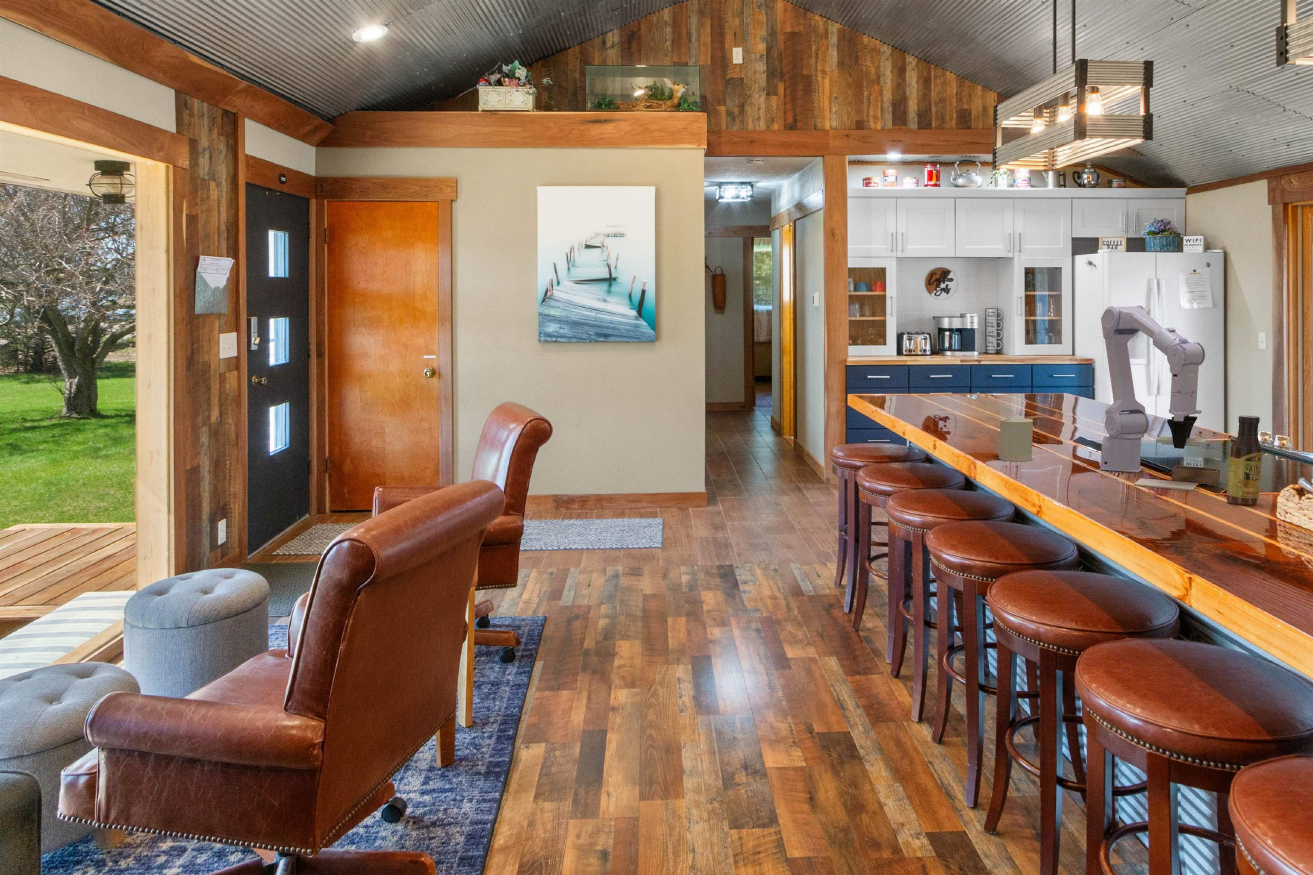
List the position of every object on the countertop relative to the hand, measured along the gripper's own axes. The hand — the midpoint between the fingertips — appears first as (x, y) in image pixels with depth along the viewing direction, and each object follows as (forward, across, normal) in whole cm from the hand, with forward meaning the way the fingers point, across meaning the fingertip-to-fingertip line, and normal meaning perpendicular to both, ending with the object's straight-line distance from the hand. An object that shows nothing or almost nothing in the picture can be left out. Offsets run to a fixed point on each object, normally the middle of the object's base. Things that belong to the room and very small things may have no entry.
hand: (1180, 446), depth 237 cm
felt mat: (+9, -3, +2) cm, 10 cm away
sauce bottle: (+10, -18, -15) cm, 25 cm away
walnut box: (+9, +4, -3) cm, 11 cm away
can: (+10, +19, +45) cm, 49 cm away
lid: (-1, 0, 0) cm, 1 cm away
